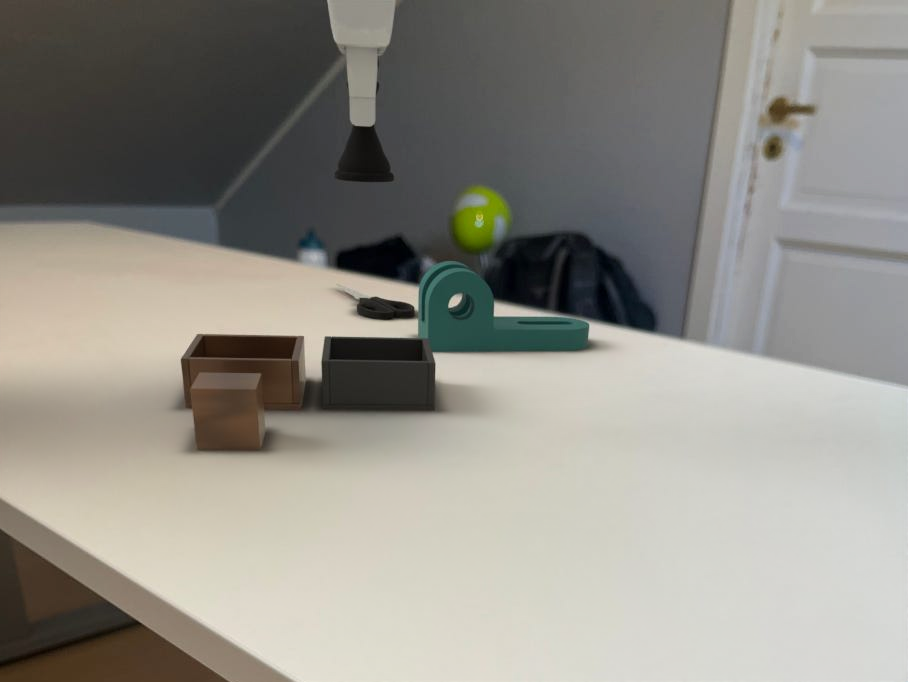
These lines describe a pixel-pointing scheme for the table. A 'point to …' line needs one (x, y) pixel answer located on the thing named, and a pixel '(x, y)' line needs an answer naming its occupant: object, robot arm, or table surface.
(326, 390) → the black bin
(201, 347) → the brown bin
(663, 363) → the table surface
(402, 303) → the scissors
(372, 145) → the chess piece
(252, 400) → the walnut block
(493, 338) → the bracket
